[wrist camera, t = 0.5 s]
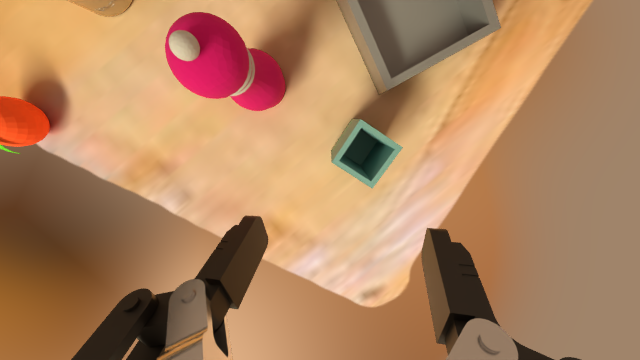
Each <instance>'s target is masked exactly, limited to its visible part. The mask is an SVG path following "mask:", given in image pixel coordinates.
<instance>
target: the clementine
mask: <svg viewBox="0 0 640 360" xmlns="http://www.w3.org/2000/svg"><path fill="white" fill-rule="evenodd" d="M49 129H50V125H49V121H48V118H47V117H46V115H45V114H44V113H43V112H42V110H40V109H39V108H37V107H36V106H34V105H33V104H31V103H29V102H26V101H24V100H21V99H17V98H11V97H5V96H2V97H0V149H2V150H5V151H9V152H12V151H10V150H8V149H6V148H4V147H3V146H2V145H7V146H27V145H32V144H35V143H37V142H39V141H41V140H43V139H44V138H45V137H46V135H47V134H48V132H49ZM13 153H16V152H13ZM19 154H20V153H19Z"/></svg>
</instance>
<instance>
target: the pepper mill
mask: <svg viewBox="0 0 640 360" xmlns="http://www.w3.org/2000/svg"><path fill="white" fill-rule="evenodd" d="M165 51H166V58H167V61H168V64H169V66H170V68H171V70H172V72H173V74H174V75H175V77H176V78H177V79H178V81H179V82H180V83H181V84H182V85H183V86H184V87H186V88H187V89H188V90H190V91H192V92H193V93H195V94H197V95H200V96H203V97H206V98H214V99H219V98H226V97H228V96H231V98H232V99H233V100H234V101H235V102H236V103H237V104H239V105H240V106H242V107H244V108H246V109H249V110H253V111H262V110H266V109H268V108H271V107H273V106H275V105H277V104H278V103H279V102H280V101H281V100H282V98H283V96H284V93H285V80H284V77H283V74H282V71H281V69H280V67H279V65H278V63H277V62H276V61H275V60H274V59H273V58H272V57H271V56H270V55H268V54H267V53H265V52H263V51H261V50H258V49H247V48H246V46H245V43H244V41H243V40H242V38H241V37H240V35H239V34H238V32H237V31H236V30H235V29H234V28H233V27H232V26H231V25H230V24H229V23H227V22H226V21H225V20H223V19H221V18H219V17H217V16H215V15H212V14H210V13H203V12H193V13H189V14H186V15H184V16H182V17H181V18H179V19H178V20H177V21H176V22H174V23H173V25H172V26H171V27H170V29H169V32H168V34H167V37H166V43H165Z"/></svg>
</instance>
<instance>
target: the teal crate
mask: <svg viewBox="0 0 640 360" xmlns="http://www.w3.org/2000/svg"><path fill="white" fill-rule="evenodd" d="M402 148H403V147H401V146H400V145H398V144H397V143H395V142H394V141H392V140H391V139H389V138H388V137H386V136H385V135H383V134H382V133H380V132H379V131H377V130H376V129H375V128H373V127H372V126H370V125H369V124H367V123H366V122H364V121H363V120H361V119H352V120H351V121H350V123H349V124H348V126H347V127H346V129H345V130H344V132H343V133H342V135H341V136H340V138H339V139H338V141H337V142H336V144H335V146H334V147H333V149H332V150H331V158H332V163H333V164H335V165H337V166H338V167H340V168H341V169H343V170H344V171H346V172H347V173H349V174H351V175H352V176H354V177H355V178H357V179H358V180H360V181H361V182H363V183H365V184H366V185H368V186H369V187H371V188H373V187H374V186H375V184H376V183H377V182H378V180H379V179H380V178H381V176H382V175H383V174H384V172H385V171H386V170H387V168H388V167H389V165H390V164H391V163H392V161H393V160H394V159H395V157H396V156H397V155H398V153H399V152H400V151H401V149H402Z"/></svg>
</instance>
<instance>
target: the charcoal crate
mask: <svg viewBox="0 0 640 360" xmlns="http://www.w3.org/2000/svg"><path fill="white" fill-rule="evenodd" d="M336 1H337V3H338V6H339V8H340V10H341V12H342V14H343V17H344V19H345V21H346V23H347V25H348V28H349V30H350V32H351V34H352V36H353V39H354V41H355V43H356V45H357V48H358V50H359V52H360V54H361V56H362V59H363V61H364V63H365V65H366V67H367V70H368V72H369V74H370V76H371V78H372V81H373V83H374V85H375V87H376V89H377V92H378V94H382V93H384V92H386V91H388V90H389V89H391V88H393V87H395V86H397V85H398V84H400V83H402V82H404V81H406V80H408V79H409V78H411V77H413V76H415V75H417V74H418V73H420V72H422V71H424V70H426V69H427V68H429V67H431V66H433V65H435V64H437V63H438V62H440V61H442V60H444V59H446V58H447V57H449V56H451V55H453V54H455V53H456V52H458V51H460V50H462V49H464V48H465V47H467V46H469V45H471V44H473V43H475V42H476V41H478V40H480V39H482V38H484V37H485V36H487V35H489V34H491V33H493V32H494V31H496V30H498V29H500V28H501V26H500V23H499V20H498V16H497V13H496V10H495V7H494V4H493V1H492V0H336Z"/></svg>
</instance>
